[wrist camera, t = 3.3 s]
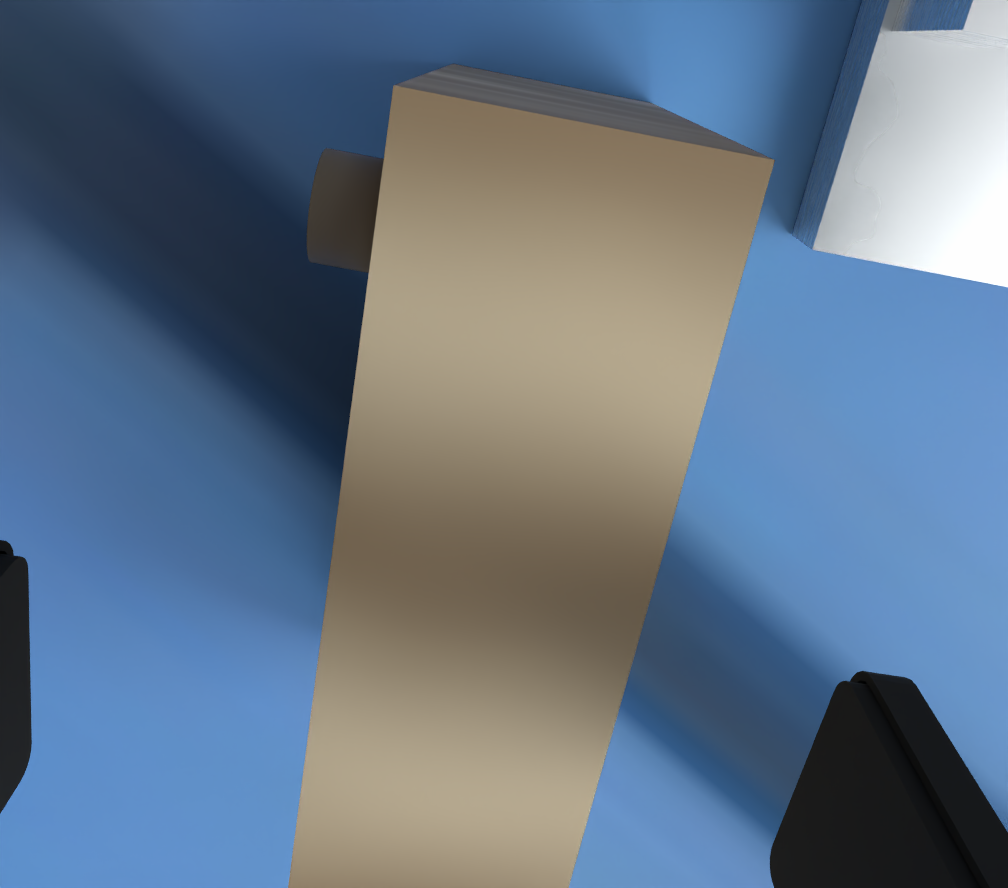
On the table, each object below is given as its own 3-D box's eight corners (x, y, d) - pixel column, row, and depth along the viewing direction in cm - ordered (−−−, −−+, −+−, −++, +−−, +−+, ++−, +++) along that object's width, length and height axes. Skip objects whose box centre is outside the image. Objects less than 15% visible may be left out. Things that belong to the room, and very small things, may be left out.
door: (519, 673, 25) (520, 1054, 15) (316, 641, 24) (194, 1009, 15) (650, 102, 19) (775, 159, 10) (392, 51, 19) (275, 62, 10)
